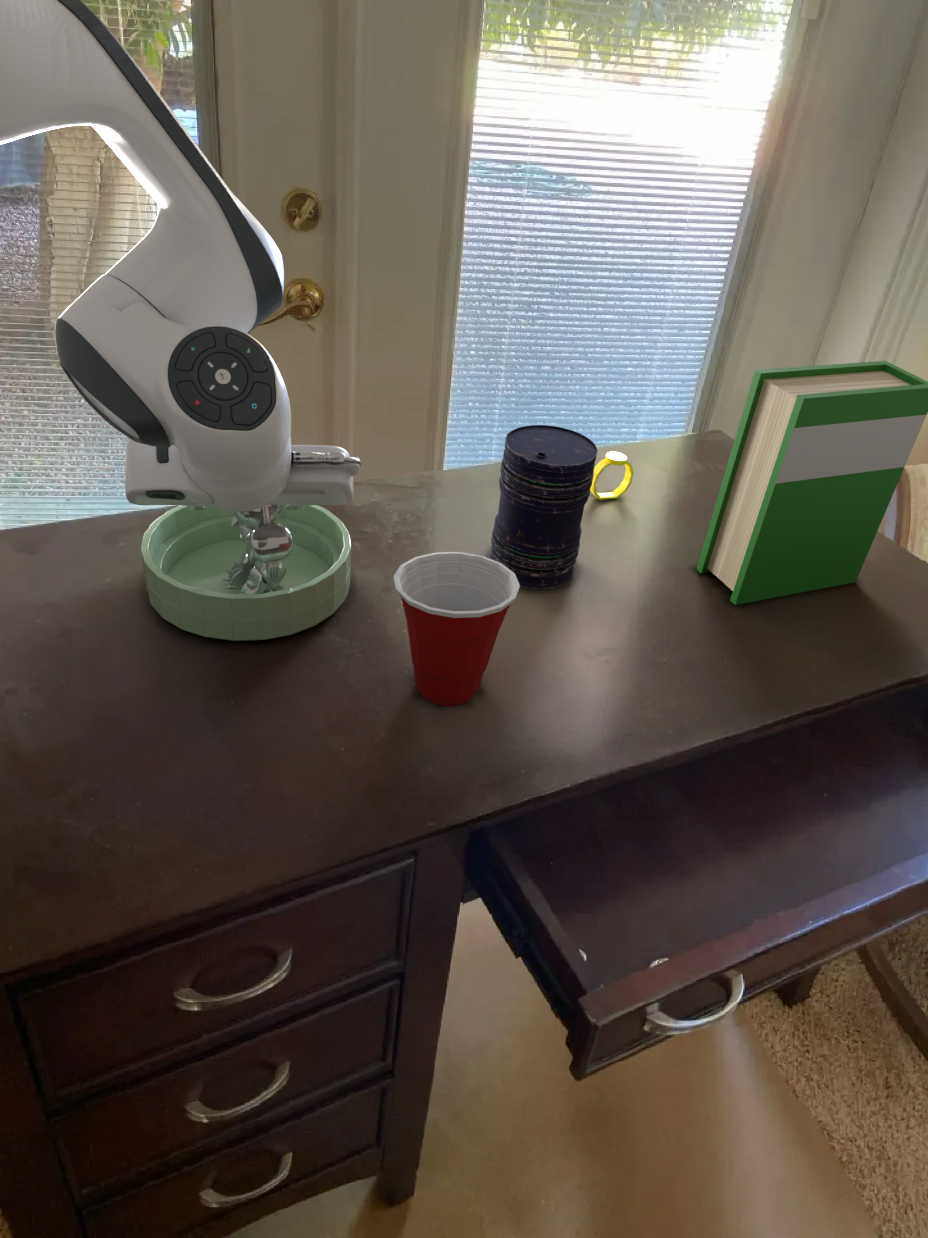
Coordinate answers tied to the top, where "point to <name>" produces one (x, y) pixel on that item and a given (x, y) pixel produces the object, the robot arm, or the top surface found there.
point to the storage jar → (542, 503)
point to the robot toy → (260, 551)
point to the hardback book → (811, 476)
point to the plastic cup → (453, 619)
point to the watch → (609, 459)
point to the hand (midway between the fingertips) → (246, 502)
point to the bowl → (208, 545)
